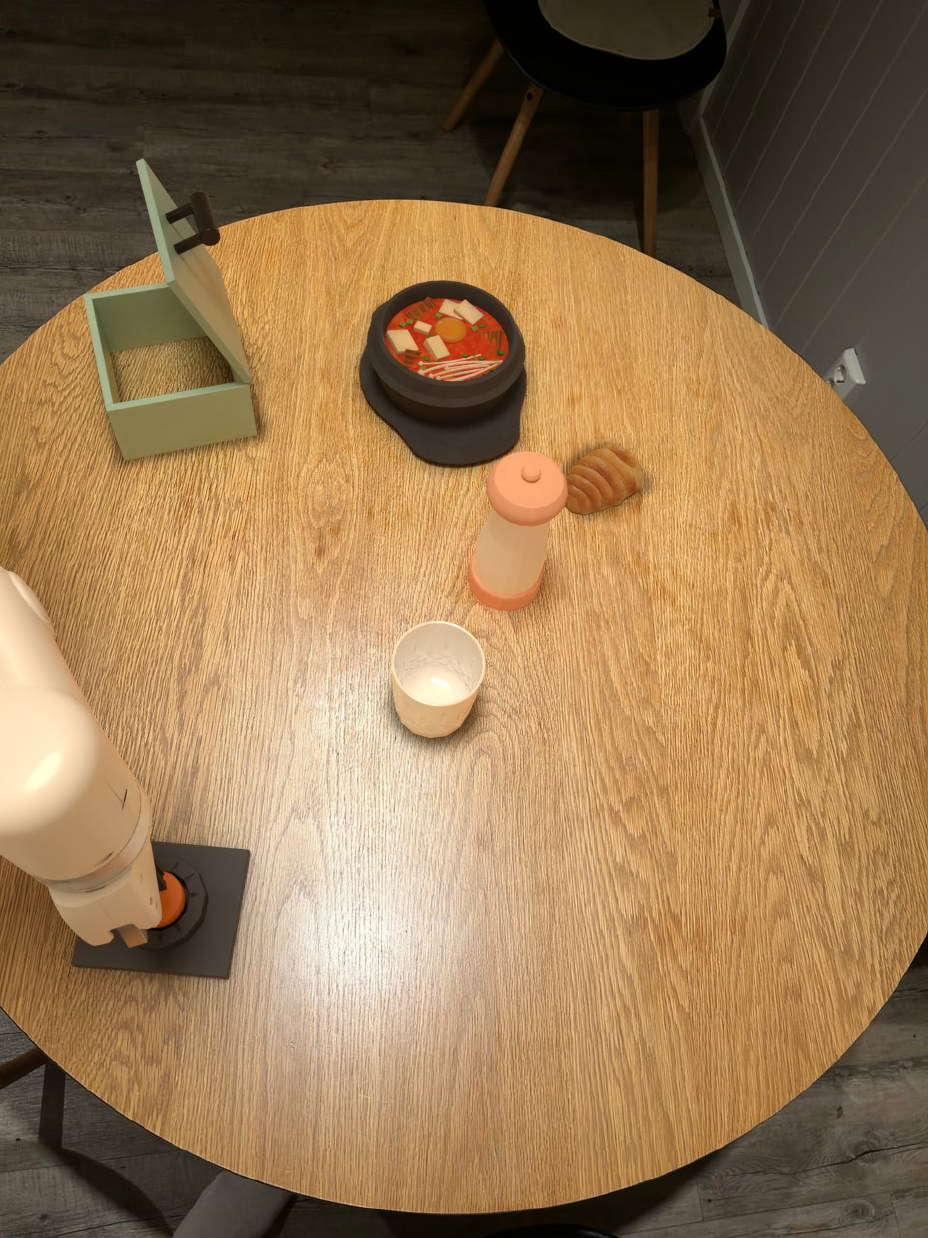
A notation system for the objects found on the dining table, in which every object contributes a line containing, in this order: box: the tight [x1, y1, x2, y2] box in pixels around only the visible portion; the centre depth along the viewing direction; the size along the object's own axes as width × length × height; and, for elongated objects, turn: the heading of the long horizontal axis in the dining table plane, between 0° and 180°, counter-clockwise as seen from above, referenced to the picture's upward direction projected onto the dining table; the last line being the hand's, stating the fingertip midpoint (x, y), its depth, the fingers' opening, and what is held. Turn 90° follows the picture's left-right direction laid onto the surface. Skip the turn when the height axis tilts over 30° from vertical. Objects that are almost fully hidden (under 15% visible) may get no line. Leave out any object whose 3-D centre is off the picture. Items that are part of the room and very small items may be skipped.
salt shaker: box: [467, 450, 568, 612], centre depth 86 cm, size 7×7×19 cm
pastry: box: [564, 443, 645, 516], centre depth 99 cm, size 9×7×4 cm
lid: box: [135, 158, 253, 383], centre depth 88 cm, size 14×16×5 cm
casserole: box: [358, 279, 528, 465], centre depth 102 cm, size 25×19×8 cm
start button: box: [152, 872, 186, 928], centre depth 73 cm, size 4×4×2 cm
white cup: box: [390, 620, 487, 739], centre depth 83 cm, size 8×8×10 cm
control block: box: [70, 840, 252, 980], centre depth 75 cm, size 12×10×4 cm
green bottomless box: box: [82, 281, 258, 461], centre depth 97 cm, size 14×16×9 cm
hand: (144, 885), depth 69 cm, fingers closed
